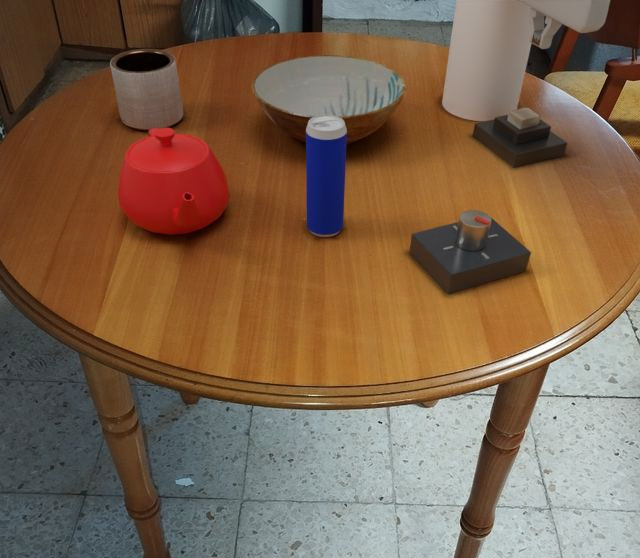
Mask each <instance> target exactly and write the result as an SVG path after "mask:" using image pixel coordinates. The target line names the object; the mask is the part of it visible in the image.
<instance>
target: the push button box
mask: <svg viewBox="0 0 640 558" xmlns="http://www.w3.org/2000/svg"><path fill="white" fill-rule="evenodd" d="M507 119H508V115H504V116H499V117H495V119H493V120H489V121H478V122H475V123H474V125H473V131H472V137H473V138H474V139H476V140H477V141H478V142H480V143H481V144H482V145H484V146H485V147H486V148H487V149H488V150H490V151H492V152H493V153H494V154H495V155H497V156H498V157H499V158H500V159H502V160H503V161H505V162H506V164H508V165H510V166H511V167H513V168H518V167H521V166H525V165H530V164H535V163H539V162H542V161H543V162H544V161H547V160H551V159H555V158H560V157H564V156H565V154H566V151H567V146H568V141H566V140H565V139H563V138H561V137H560V136H558V135H557V134H555V133H554V132H553V131H552V126H551V125H550V124H548V123H547V122H546V121H544V120H543V119H541V118H540V120H539V124H538V126H534V127H529V128H524V129H519V128H517V127H516V126H514V125H513V124H511V123H510V122H509V121H507Z"/></svg>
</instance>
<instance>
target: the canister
mask: <svg viewBox="0 0 640 558" xmlns="http://www.w3.org/2000/svg"><path fill="white" fill-rule="evenodd" d="M530 10H531V7H529V6H527V5H525V4H523V3H521V2H520V1H518V0H455V7H454V15H453V21H452V27H451V36H450V41H449V42H450V43H449V49H448V50H449V51H448V57H447V62H446V63H447V65H446V70H445V71H446V72H445V78H444V86H443V92H442V100H441V105H442V107H443V109H444V110H445V111H446V112H448V113H450V114H451V115H453V116H455V117H458V118H460V119H465V120H468V121H474V122H484V121H489V120H493V119H495V117H499V116H504V115H508V114H509V111H512V110H517V109H518V106H519V101H520V98H521V92H522V88H523V83H524V79H525V73H526V70H527V65H528V61H529V57H530V52H531V47H532V43H530V36H531V32H532V30H531V23H530V16H529V15H530Z"/></svg>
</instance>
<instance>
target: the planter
mask: <svg viewBox="0 0 640 558" xmlns="http://www.w3.org/2000/svg"><path fill="white" fill-rule="evenodd" d="M109 67H110V71H111V76H112V82H113V86H114V92H115V98H116V102H117V107H118V113H119V117H120V120H121V122H122V123H123V124H124V125H125V126H127V127H128V128H131V129H134V130H136V131H141V132H149V130H151V129H153V128H157V129H160V128H172V127H174V126H176V125H177V124H178V123H179V122H180V121H182V119H183V117H184V105H183V99H182V92H181V87H180V80H179V73H178V67H177V60H176V57H175V56H174V54H172V53H171V52H168V51H166V50H163V49H157V48H156V49H155V48H139V49H131V50H128V51H124V52H120V53H119V54H117V55H115V56H114V57H112V58H111V60H110V61H109ZM121 118H122V119H121ZM123 120H124V121H125V122H127V123H129V124H127V123H125V122H124V121H123ZM130 124H132V125H130ZM133 125H136V126H133ZM138 126H141V127H138Z"/></svg>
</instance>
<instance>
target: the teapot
mask: <svg viewBox="0 0 640 558" xmlns="http://www.w3.org/2000/svg"><path fill="white" fill-rule="evenodd" d="M147 135H148V136H145V137H143V138H141V139H139V140H137V141H136V142H134V143H132V144H131V145H130V146H129V147H128V149H126V150H125V153H124V156H123V161H122V164H121V168H120V172H119V178H118V190H117V193H118V194H117V197H118V205H119V207H120V209H121V210H122V212H123V214H125V216H126V217H127V218H128V220H129V222H131V223H132V224H134V226H135V225H136V226H137V227H140V228H142V229H144V230H146V231H148V232H151V233H154V234H161V235H167V236H171V235H172V236H173V235H186V234H190V233H192V232H196V231H199V230H202V229H204V228H207V226H209V225H211V224H212V223H214V222H215V221H217V220H218V219H219V218H220V217H221V216H222V214H223V213H224V211H225V210H226V208H227V207H228V205H229V203H230V202H229V201H230V195H231V194H230V188H229V183H228V178H227V175H226V173H225V170H224V169H223V166H222V165H221V163H220V162H219V159H218V158H217V156H216V155H215V153H214V152H213V150H212V149H211V147H210V146H209V145H208V144H207V142H205V141H204V140H203V139H202V138H200V137H197V136H193V135H191V134H185V133H177V132H175V130H174V129H173V128H172V127H169V128H160V129H157V128H153V129H151V130H149V131H147Z"/></svg>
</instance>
